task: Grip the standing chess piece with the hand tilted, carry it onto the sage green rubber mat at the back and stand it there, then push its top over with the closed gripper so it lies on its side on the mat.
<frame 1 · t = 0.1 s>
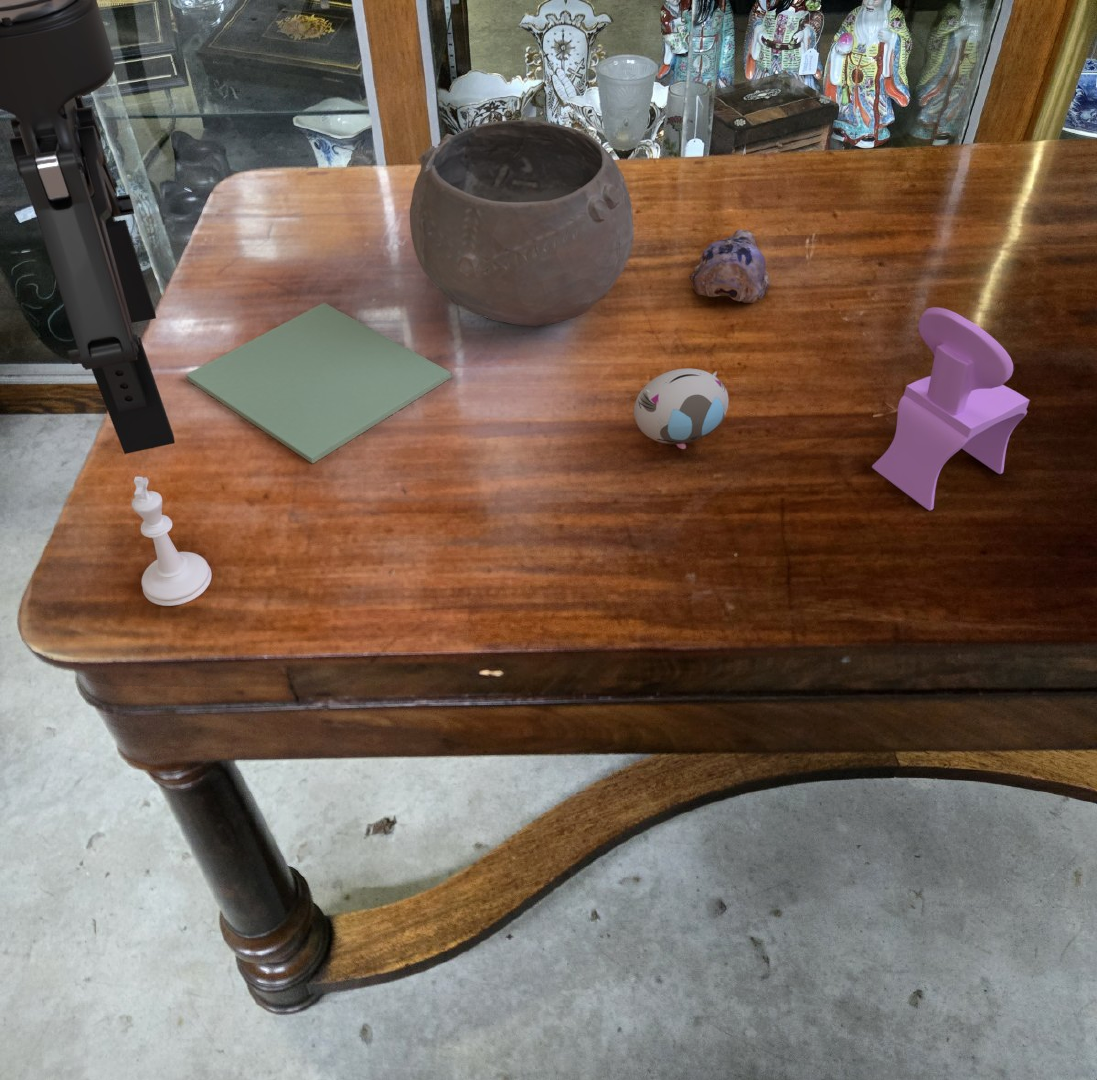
hand: (141, 378, 62), 19 cm above the table, tool pointing down, fingers open, 13 cm apart
mat: (319, 378, 94), on the table
clay pot: (524, 300, 103), on the table
toy chair: (938, 471, 84), on the table
purple rounded piece: (733, 284, 105), on the table
figurine: (677, 443, 87), on the table
chess piece: (178, 583, 76), on the table
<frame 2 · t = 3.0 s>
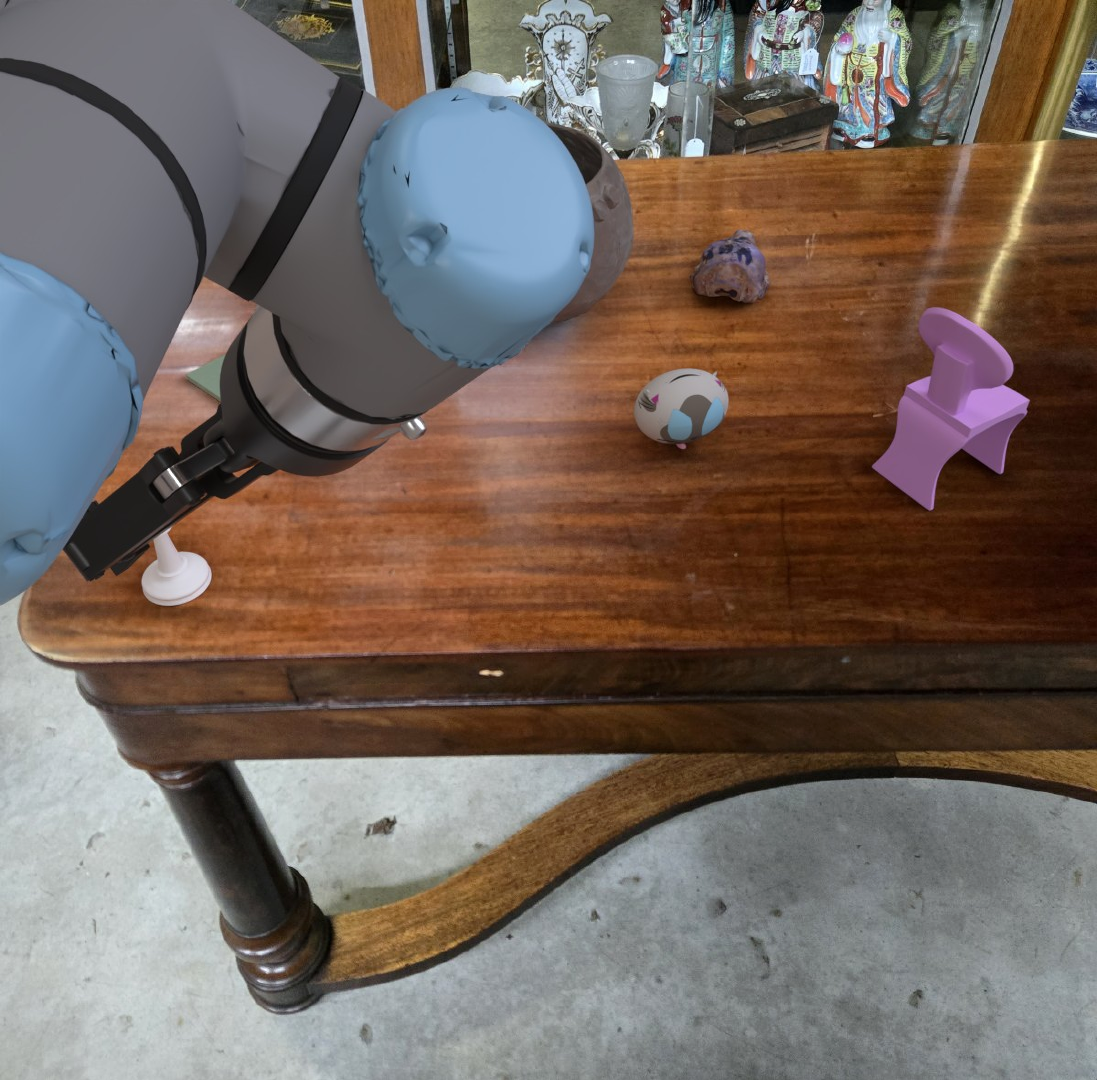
hand: (209, 489, 61), 15 cm above the table, tool tilted 45°, fingers open, 13 cm apart
nothing on the table moved.
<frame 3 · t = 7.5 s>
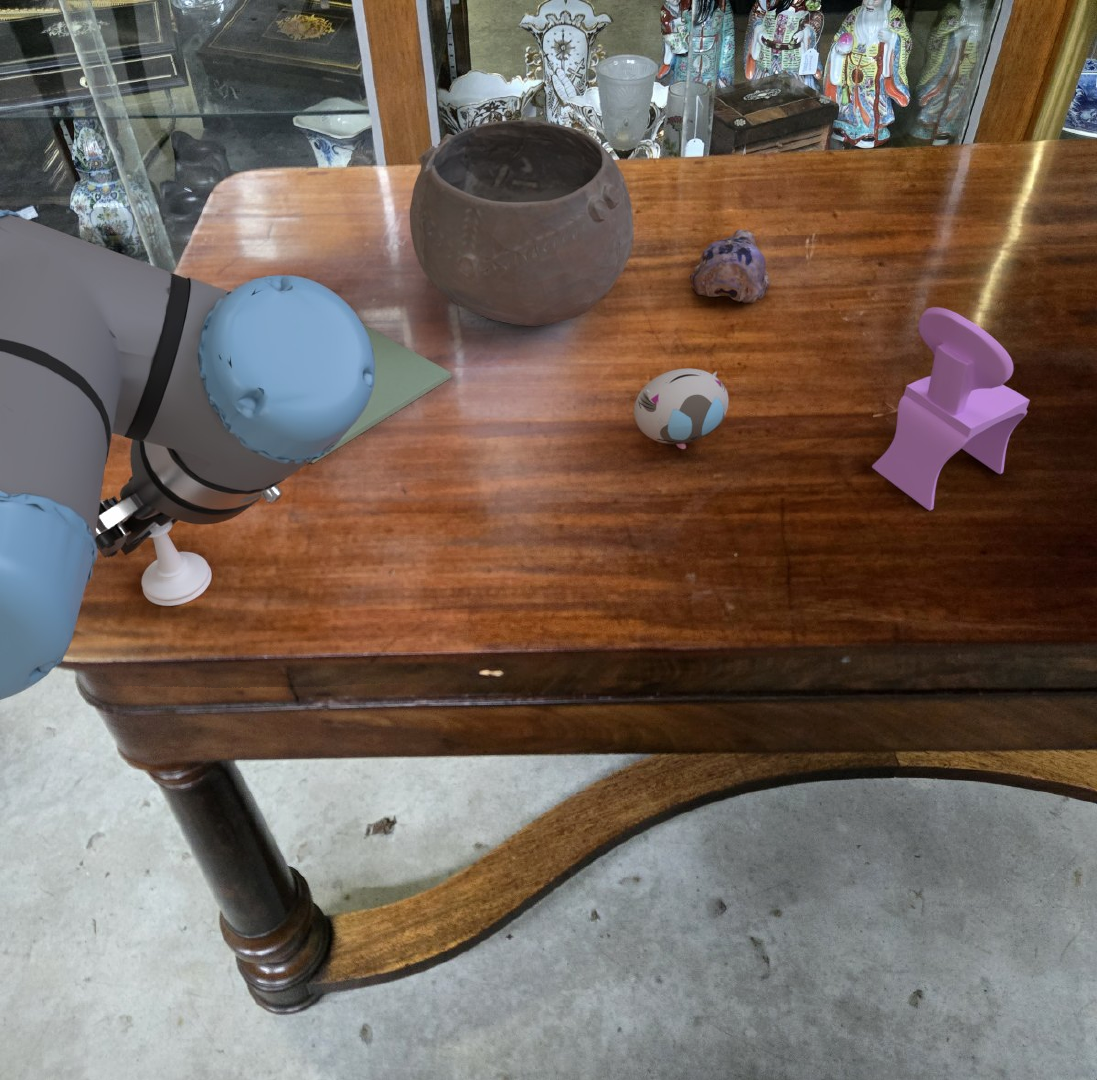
hand: (136, 526, 76), 3 cm above the table, tool tilted 45°, fingers closed on chess piece, 2 cm apart
chess piece: (178, 583, 76), on the table, touching gripper
everything else where it was.
when the fingers open (4 cm above the table, at t = 15.9 s): chess piece stays where it is, resting on mat.
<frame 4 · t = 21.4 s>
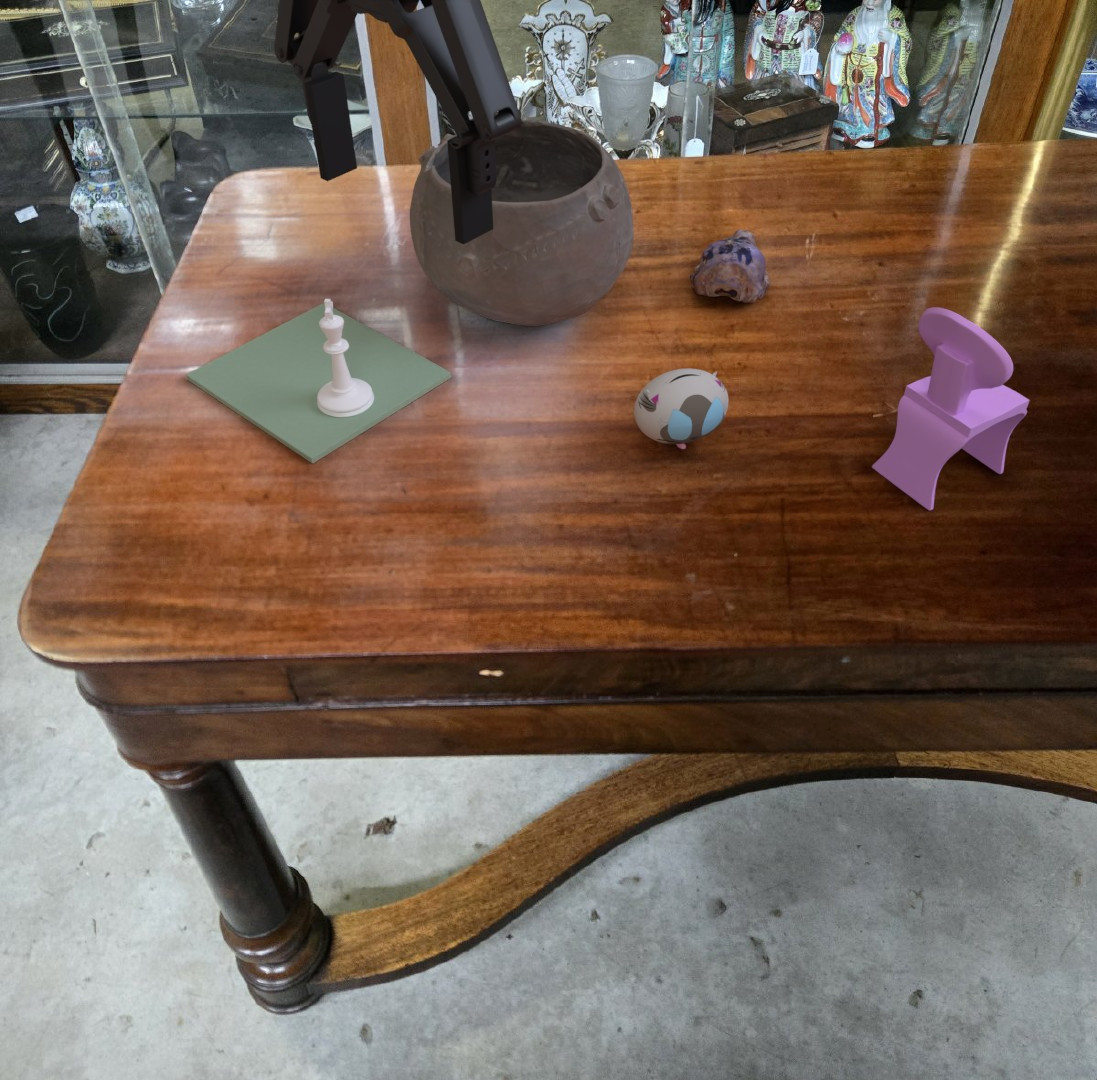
hand: (403, 203, 70), 23 cm above the table, tool pointing down, fingers open, 13 cm apart
chess piece: (346, 402, 91), resting on mat
everything else where it was.
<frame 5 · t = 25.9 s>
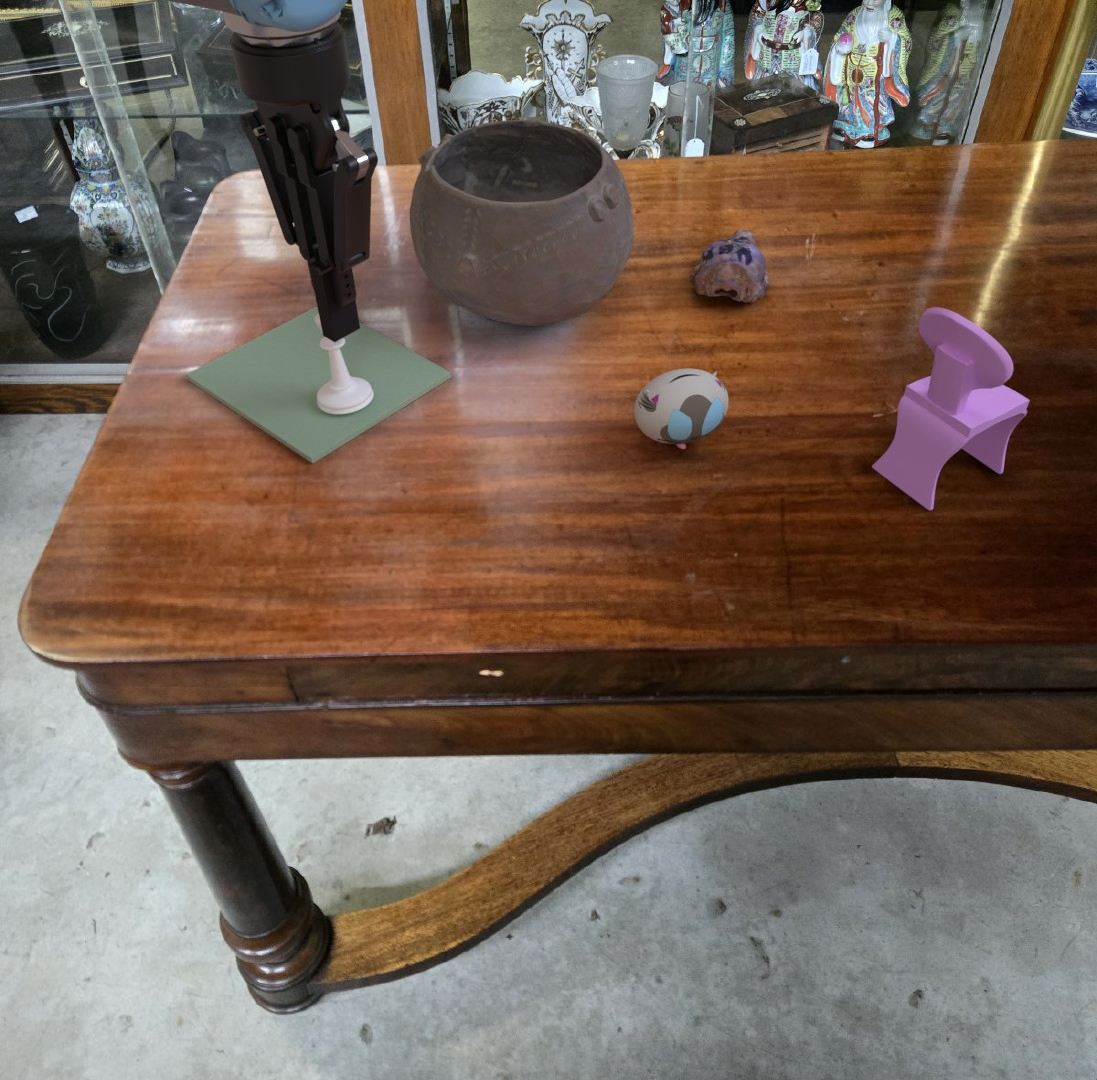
hand: (341, 331, 85), 8 cm above the table, tool pointing down, fingers closed
chess piece: (346, 400, 91), point 1 cm above the table, touching gripper, mat
everything else where it was.
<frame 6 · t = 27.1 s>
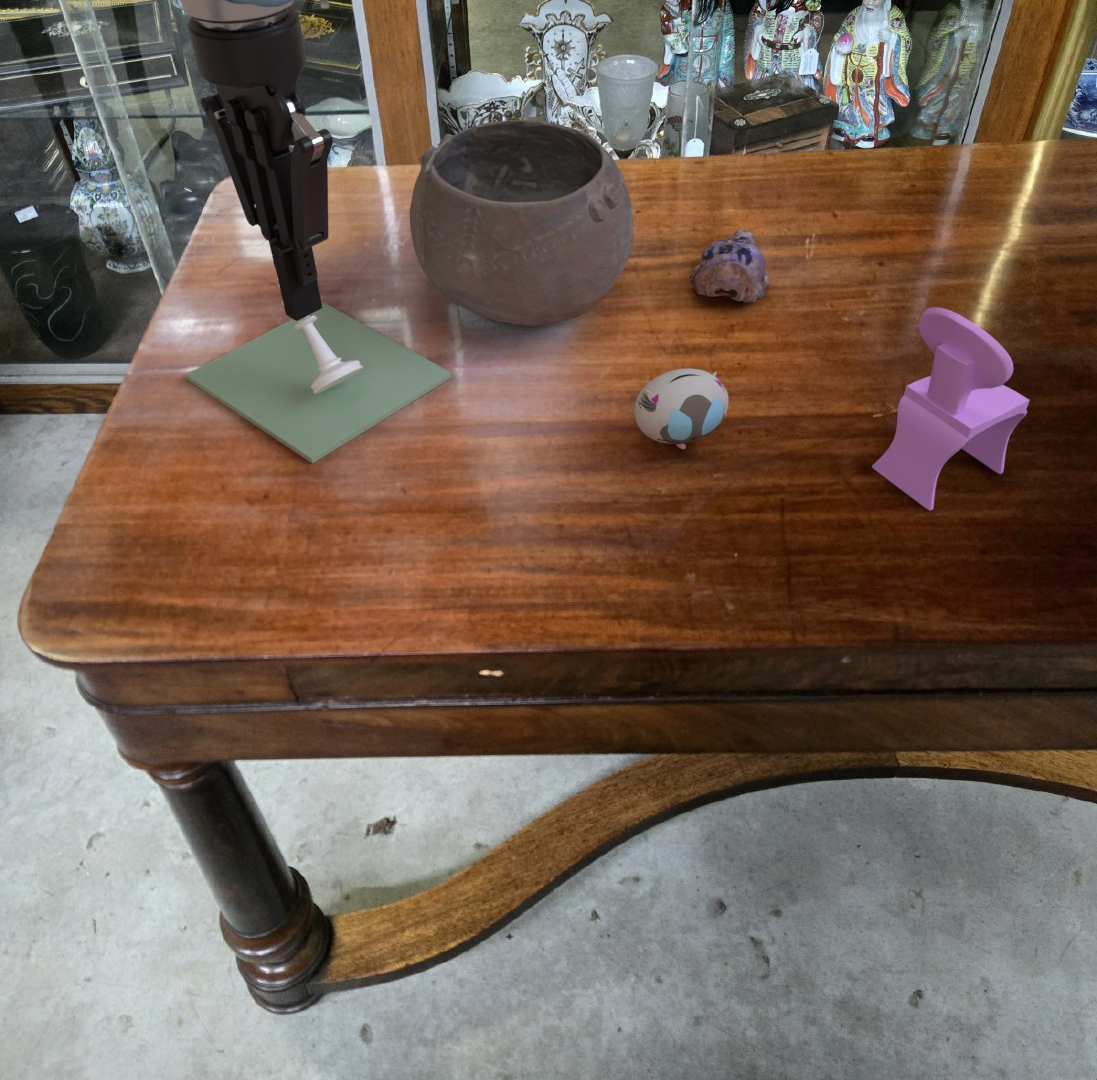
hand: (304, 311, 87), 8 cm above the table, tool pointing down, fingers closed
chess piece: (340, 383, 90), point 2 cm above the table, touching mat
everything else where it was.
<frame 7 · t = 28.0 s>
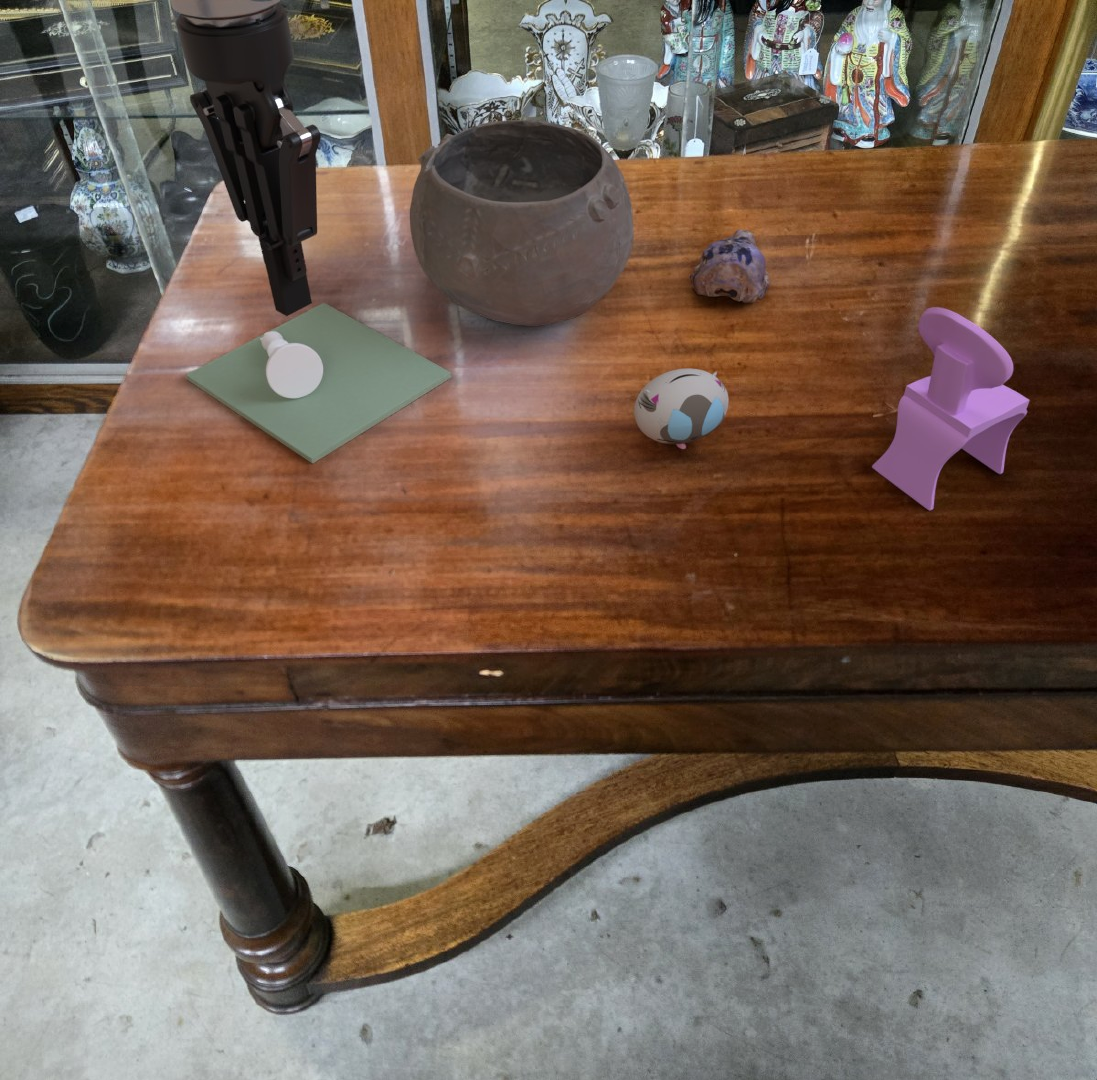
hand: (293, 306, 88), 8 cm above the table, tool pointing down, fingers closed
chess piece: (295, 372, 89), point 3 cm above the table, touching mat
everything else where it was.
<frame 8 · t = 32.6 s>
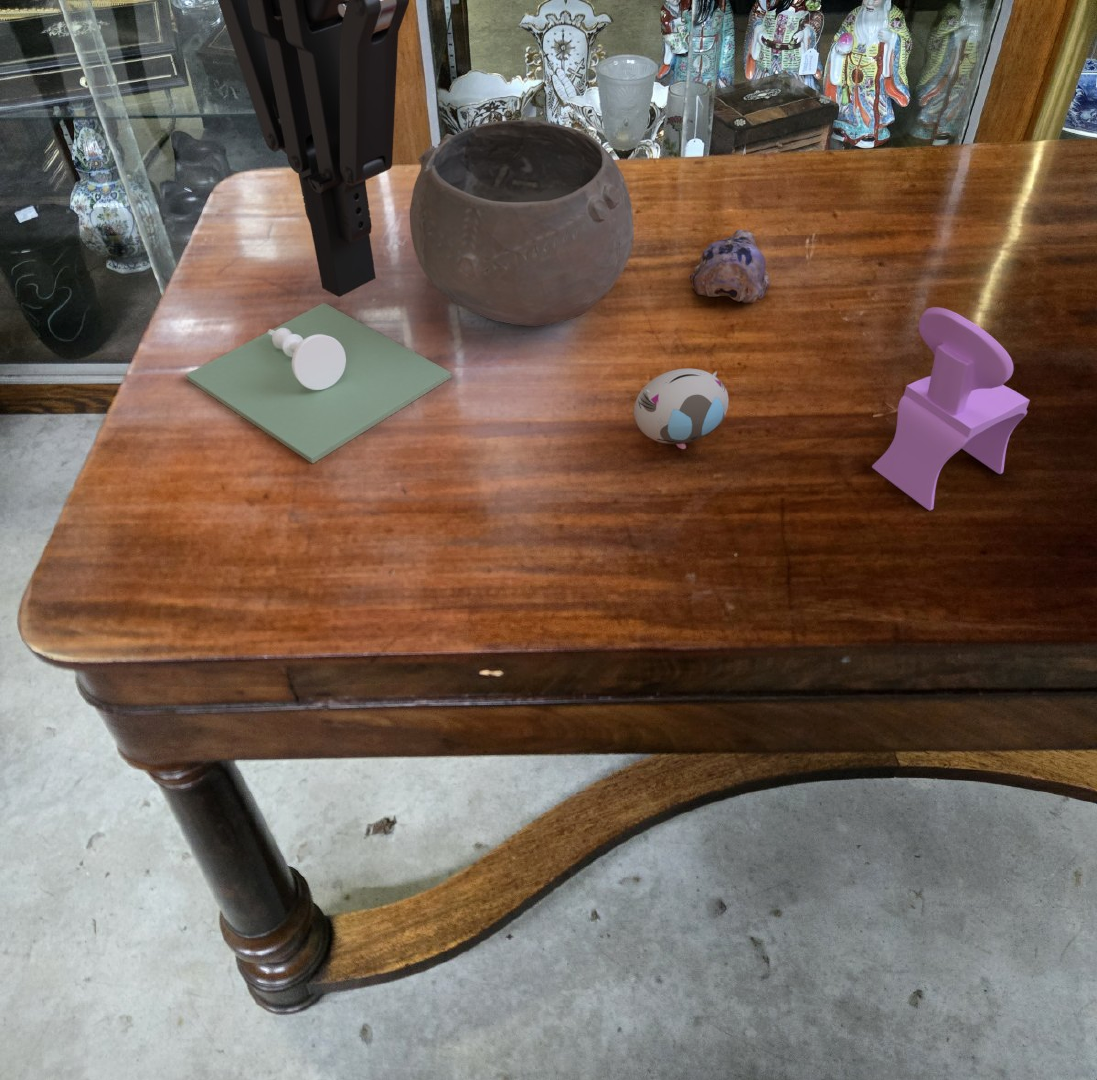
hand: (349, 282, 59), 24 cm above the table, tool pointing down, fingers closed
chess piece: (321, 363, 90), point 3 cm above the table, touching mat
everything else where it was.
at the end: chess piece tilted 101°; chess piece inside the target area on the mat (2.9 cm from its centre), point 3.1 cm above the mat's base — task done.
